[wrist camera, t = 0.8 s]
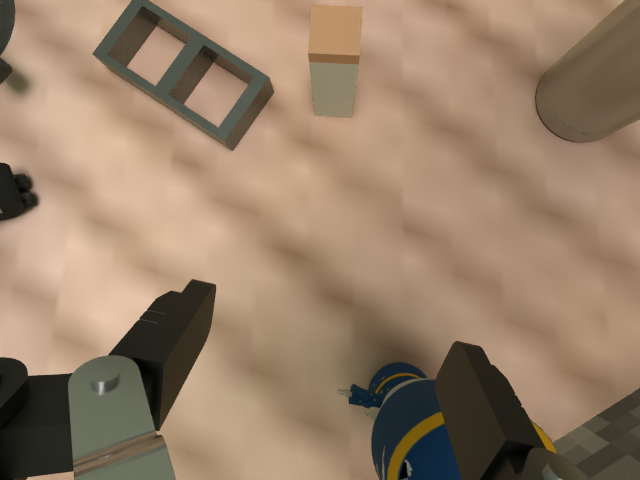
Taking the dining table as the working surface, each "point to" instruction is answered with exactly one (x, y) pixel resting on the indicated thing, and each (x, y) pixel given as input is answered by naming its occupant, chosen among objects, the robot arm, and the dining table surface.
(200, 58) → the divided rectangular frame
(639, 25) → the robot arm
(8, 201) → the toy gun
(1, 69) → the tankard
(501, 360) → the dining table surface
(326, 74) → the two-tone square post
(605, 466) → the block
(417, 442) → the figurine
